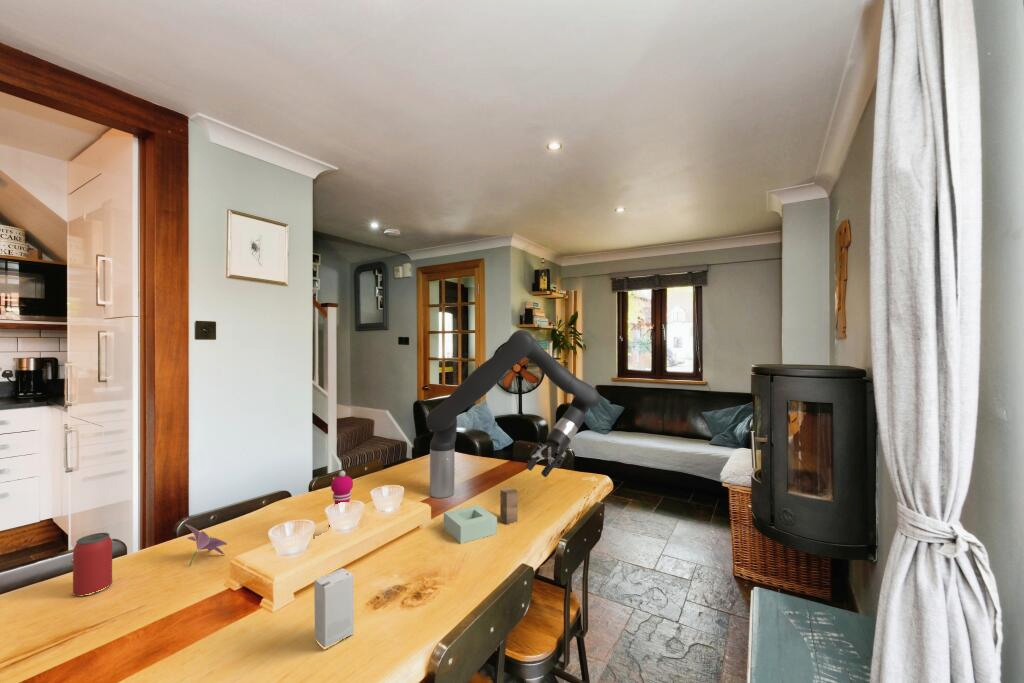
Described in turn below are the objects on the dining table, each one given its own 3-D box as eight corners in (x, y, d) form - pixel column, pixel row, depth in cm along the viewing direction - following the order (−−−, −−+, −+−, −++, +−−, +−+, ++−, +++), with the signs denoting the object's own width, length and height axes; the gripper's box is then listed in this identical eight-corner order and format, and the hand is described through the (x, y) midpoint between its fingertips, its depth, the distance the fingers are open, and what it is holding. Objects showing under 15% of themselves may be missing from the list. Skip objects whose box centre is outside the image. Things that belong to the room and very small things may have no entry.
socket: (443, 528, 133) (443, 512, 133) (478, 520, 140) (478, 504, 140) (460, 543, 123) (460, 526, 123) (496, 533, 130) (497, 517, 130)
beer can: (118, 584, 102) (119, 533, 102) (83, 600, 96) (84, 546, 96) (101, 579, 104) (101, 529, 104) (65, 594, 98) (66, 541, 98)
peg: (500, 520, 140) (500, 489, 140) (510, 517, 142) (510, 487, 142) (506, 524, 136) (506, 493, 136) (517, 522, 138) (517, 490, 138)
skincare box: (343, 626, 87) (343, 565, 87) (354, 635, 84) (355, 573, 84) (312, 642, 82) (313, 578, 83) (324, 653, 80) (324, 587, 80)
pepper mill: (359, 534, 129) (359, 467, 129) (347, 545, 122) (348, 474, 122) (336, 533, 130) (336, 466, 130) (323, 544, 123) (323, 474, 123)
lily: (226, 569, 111) (240, 529, 116) (173, 565, 104) (190, 523, 109) (213, 568, 119) (227, 531, 123) (162, 565, 112) (179, 525, 116)
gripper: (543, 424, 156) (517, 460, 149) (569, 430, 144) (541, 470, 137) (555, 437, 158) (529, 473, 152) (581, 444, 146) (555, 484, 140)
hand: (535, 472), depth 145 cm, fingers open, 8 cm apart
